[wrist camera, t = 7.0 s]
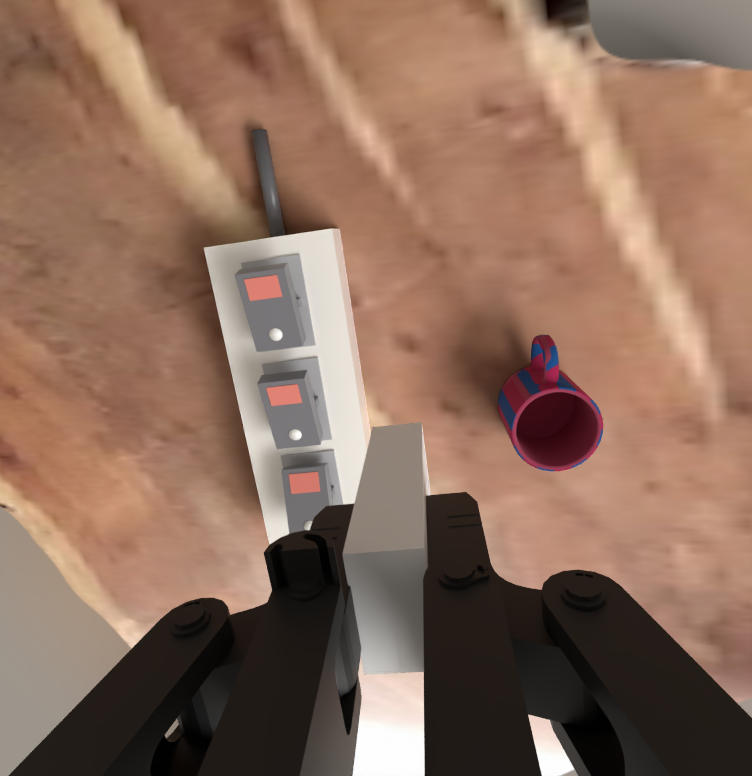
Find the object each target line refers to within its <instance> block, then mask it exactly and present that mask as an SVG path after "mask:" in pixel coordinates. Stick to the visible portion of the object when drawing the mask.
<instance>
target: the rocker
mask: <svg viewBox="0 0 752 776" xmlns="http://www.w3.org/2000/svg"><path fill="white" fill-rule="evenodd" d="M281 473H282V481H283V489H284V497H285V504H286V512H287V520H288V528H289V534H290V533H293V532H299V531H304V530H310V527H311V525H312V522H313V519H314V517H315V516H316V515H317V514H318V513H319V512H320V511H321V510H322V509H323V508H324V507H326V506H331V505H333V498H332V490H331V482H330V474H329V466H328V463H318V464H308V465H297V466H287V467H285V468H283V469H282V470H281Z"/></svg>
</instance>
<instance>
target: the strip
mask: <svg viewBox="0 0 752 776" xmlns="http://www.w3.org/2000/svg"><path fill="white" fill-rule="evenodd" d="M251 134H252V139H253V145H254V150H255V155H256V161H257V166H258V171H259V177H260V182H261V188H262V193H263V198H264V204H265V209H266V214H267V220H268V225H269V230H270V236H271V238H265V239H258V240H251V241H245V242H238V243H231V244H225V245H218V246H211V247H205V248H204V251H205V256H206V260H207V265H208V269H209V274H210V278H211V283H212V287H213V292H214V296H215V301H216V305H217V310H218V314H219V319H220V323H221V328H222V332H223V337H224V341H225V346H226V350H227V355H228V359H229V364H230V368H231V373H232V377H233V382H234V386H235V391H236V395H237V400H238V404H239V409H240V413H241V418H242V422H243V427H244V431H245V436H246V440H247V445H248V449H249V454H250V458H251V463H252V467H253V472H254V476H255V481H256V486H257V490H258V495H259V499H260V504H261V508H262V513H263V517H264V522H265V526H266V531H267V535H268V540H269V544H271V543H273V542H274V541H276V540H277V539H279V538H280V537H283V536H285V535H288V534H289V528H288V520H287V512H286V504H285V497H284V489H283V481H282V473H281V470H282V469H283V468H285V467H287V466H297V465H308V464H318V463H328V466H329V474H330V482H331V490H332V498H333V505H343V504H354V503H355V499H356V495H357V491H358V487H359V482H360V478H361V474H362V470H363V465H364V461H365V457H366V453H367V449H368V444H369V440H370V436H371V431H370V425H369V418H368V412H367V405H366V398H365V392H364V385H363V379H362V372H361V366H360V359H359V352H358V346H357V339H356V333H355V326H354V320H353V313H352V306H351V300H350V293H349V287H348V280H347V273H346V267H345V260H344V254H343V247H342V241H341V234H340V229H333V228H332V229H325V230H318V231H312V232H305V233H298V234H292V235H285V229H284V224H283V218H282V213H281V207H280V201H279V196H278V190H277V185H276V179H275V174H274V168H273V162H272V157H271V151H270V146H269V140H268V135H267V130H265V129H258V130H253V131H251ZM287 262H288V265H289V269H290V274H291V278H292V282H293V286H294V290H295V295H296V299H297V303H298V307H299V311H300V316H301V320H302V324H303V328H304V332H305V337H306V340H305V342H304V345H303V346H300V347H292V348H284V349H276V350H267V351H259V352H257V351H256V348H255V344H254V341H253V337H252V334H251V331H250V327H249V324H248V320H247V317H246V313H245V310H244V306H243V303H242V300H241V296H240V293H239V289H238V286H237V282H236V279H235V276H234V275H235V274H236V273H237V272H238V271H239V270H240V269H245V268H252V267H259V266H266V265H273V264H280V263H287ZM300 370H307V371H308V375H309V379H310V383H311V387H312V391H313V395H314V399H315V403H316V408H317V412H318V416H319V420H320V424H321V428H322V432H323V437H322V442H321V445H314V446H304V447H294V448H285V449H277V448H276V445H275V442H274V438H273V435H272V432H271V428H270V425H269V422H268V418H267V415H266V412H265V408H264V405H263V402H262V398H261V395H260V392H259V388H258V385H257V383H258V381H259V379H260V377H261V375H267V374H275V373H283V372H292V371H300Z"/></svg>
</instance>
